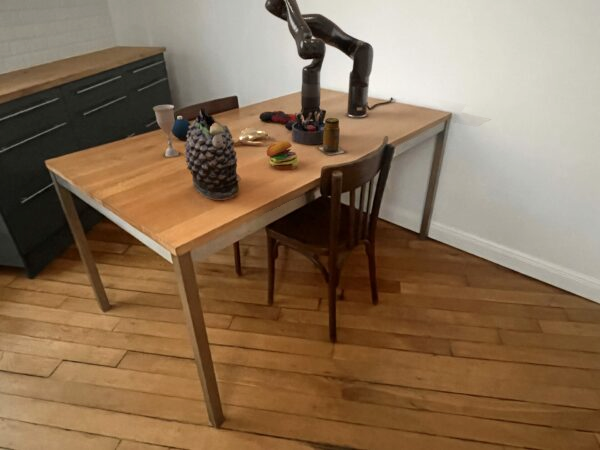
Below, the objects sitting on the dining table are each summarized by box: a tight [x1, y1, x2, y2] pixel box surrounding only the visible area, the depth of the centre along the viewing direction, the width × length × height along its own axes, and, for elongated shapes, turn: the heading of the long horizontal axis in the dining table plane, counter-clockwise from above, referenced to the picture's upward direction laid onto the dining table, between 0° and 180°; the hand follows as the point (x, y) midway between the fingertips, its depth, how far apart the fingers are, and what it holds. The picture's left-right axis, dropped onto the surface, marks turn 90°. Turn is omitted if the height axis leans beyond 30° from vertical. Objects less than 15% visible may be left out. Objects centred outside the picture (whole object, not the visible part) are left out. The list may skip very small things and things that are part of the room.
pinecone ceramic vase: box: [183, 107, 242, 201], centre depth 123 cm, size 21×15×25 cm
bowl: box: [291, 120, 325, 145], centre depth 168 cm, size 15×15×6 cm
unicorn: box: [232, 127, 271, 146], centre depth 167 cm, size 20×4×17 cm
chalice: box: [152, 104, 180, 158], centre depth 150 cm, size 7×7×18 cm
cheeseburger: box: [266, 140, 298, 170], centre depth 144 cm, size 10×11×10 cm
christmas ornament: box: [171, 115, 192, 140], centre depth 167 cm, size 8×8×10 cm
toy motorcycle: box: [259, 110, 303, 131], centre depth 186 cm, size 25×5×16 cm
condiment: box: [318, 117, 345, 156], centre depth 155 cm, size 7×8×12 cm
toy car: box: [301, 125, 316, 132], centre depth 168 cm, size 8×4×4 cm, turn 29°
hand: (310, 135), depth 169 cm, fingers closed on toy car, 4 cm apart
